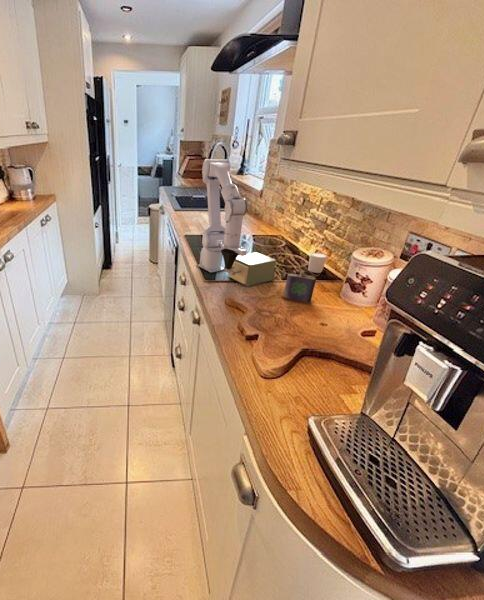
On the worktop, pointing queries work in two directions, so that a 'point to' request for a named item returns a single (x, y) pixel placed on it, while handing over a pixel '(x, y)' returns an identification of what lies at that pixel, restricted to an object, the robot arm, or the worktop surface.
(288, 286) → the flask
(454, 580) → the worktop surface
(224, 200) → the robot arm
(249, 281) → the cabinet
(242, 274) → the drawer
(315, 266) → the shot glass
